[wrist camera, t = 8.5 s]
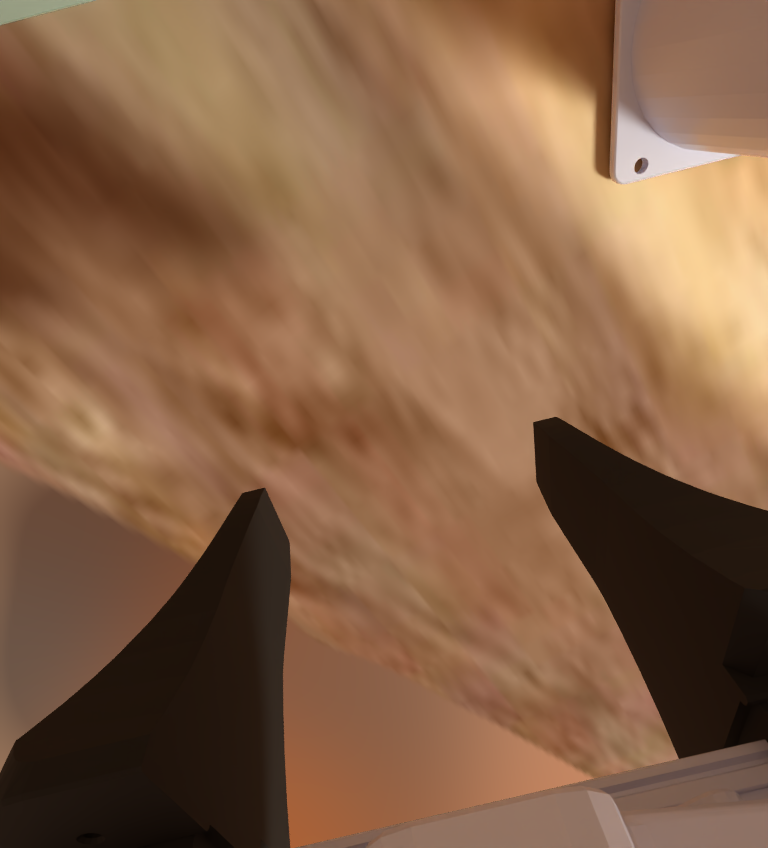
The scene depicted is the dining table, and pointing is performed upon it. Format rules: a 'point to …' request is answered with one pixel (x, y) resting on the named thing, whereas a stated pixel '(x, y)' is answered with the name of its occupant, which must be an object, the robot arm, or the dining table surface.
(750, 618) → the robot arm
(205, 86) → the dining table surface
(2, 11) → the t mat
